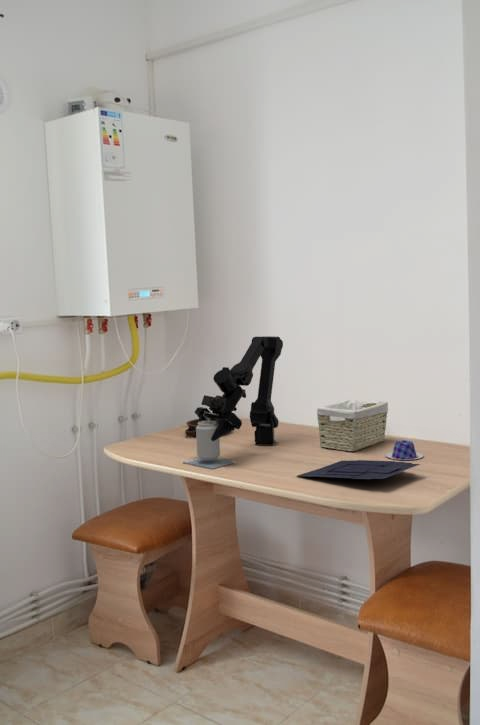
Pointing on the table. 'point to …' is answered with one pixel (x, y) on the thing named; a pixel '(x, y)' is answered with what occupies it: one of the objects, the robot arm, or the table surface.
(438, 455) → the table surface
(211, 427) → the can
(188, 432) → the dish
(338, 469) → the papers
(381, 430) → the storage basket
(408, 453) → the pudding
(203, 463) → the mat
